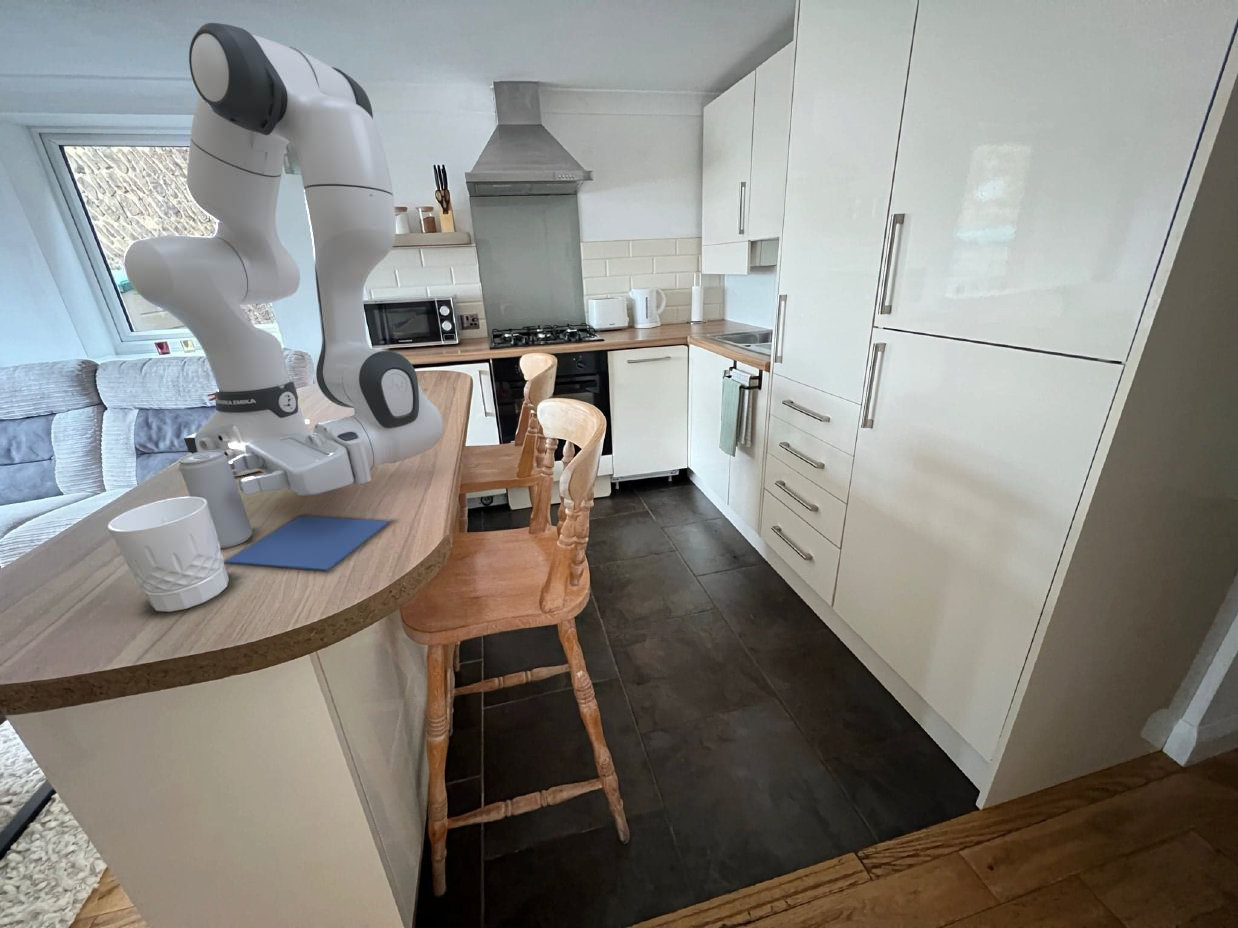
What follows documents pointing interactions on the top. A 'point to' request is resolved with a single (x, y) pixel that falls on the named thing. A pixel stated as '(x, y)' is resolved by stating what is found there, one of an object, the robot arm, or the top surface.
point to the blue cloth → (309, 543)
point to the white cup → (172, 552)
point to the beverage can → (217, 494)
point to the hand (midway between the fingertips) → (229, 479)
